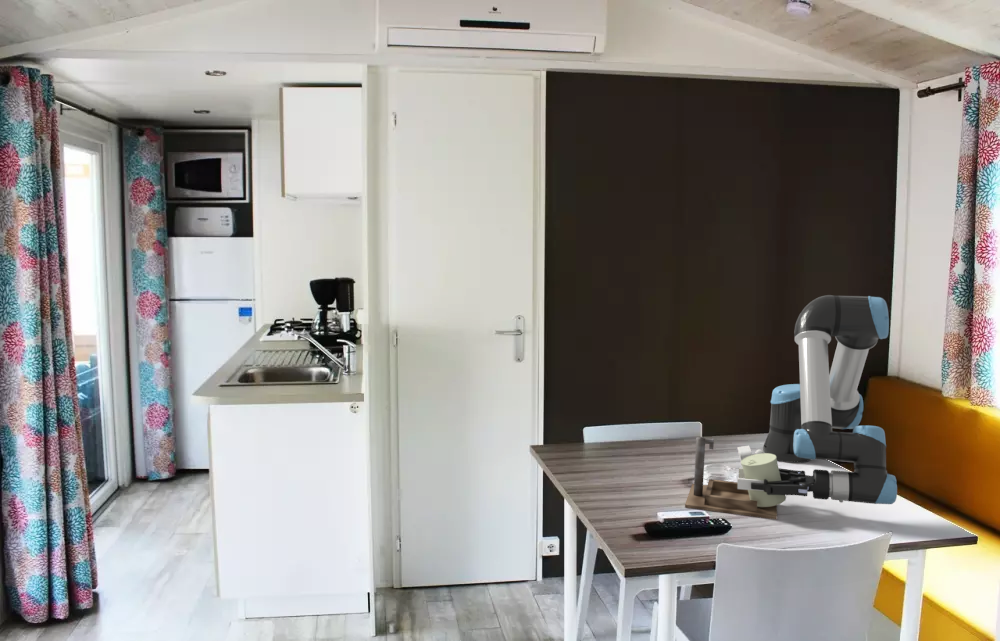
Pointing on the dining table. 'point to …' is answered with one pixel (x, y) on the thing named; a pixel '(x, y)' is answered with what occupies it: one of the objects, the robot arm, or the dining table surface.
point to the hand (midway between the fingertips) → (738, 478)
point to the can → (762, 477)
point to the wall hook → (746, 452)
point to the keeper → (721, 492)
